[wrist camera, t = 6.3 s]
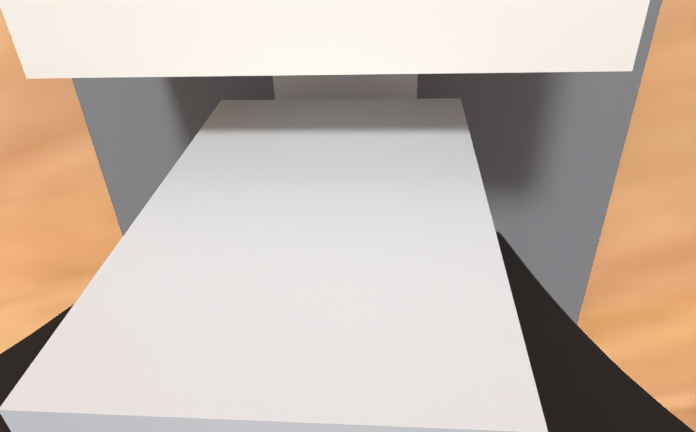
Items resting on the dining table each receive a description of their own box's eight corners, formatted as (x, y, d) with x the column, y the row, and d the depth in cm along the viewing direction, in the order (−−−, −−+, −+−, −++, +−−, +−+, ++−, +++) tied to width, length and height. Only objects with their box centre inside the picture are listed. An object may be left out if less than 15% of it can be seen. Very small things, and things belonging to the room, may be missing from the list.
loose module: (444, 302, 13) (484, 677, 7) (255, 297, 13) (142, 650, 7) (460, 98, 10) (548, 432, 4) (221, 100, 10) (-3, 410, 5)
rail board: (525, 473, 20) (531, 505, 19) (209, 458, 21) (200, 488, 20) (851, -879, 6) (940, -1021, 5) (-143, -732, 7) (-233, -830, 6)
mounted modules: (488, 412, 17) (511, 551, 13) (232, 402, 17) (194, 532, 14) (601, -288, 8) (748, -389, 5) (78, -254, 9) (-122, -323, 5)
